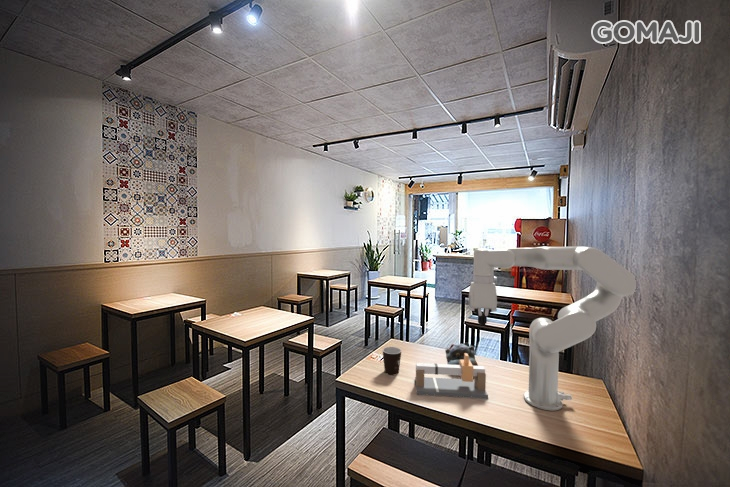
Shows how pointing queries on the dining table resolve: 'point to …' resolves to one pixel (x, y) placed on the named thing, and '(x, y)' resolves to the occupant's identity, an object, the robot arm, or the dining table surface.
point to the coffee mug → (391, 360)
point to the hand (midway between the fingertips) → (482, 324)
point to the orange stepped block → (466, 369)
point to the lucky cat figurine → (460, 354)
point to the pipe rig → (449, 381)
